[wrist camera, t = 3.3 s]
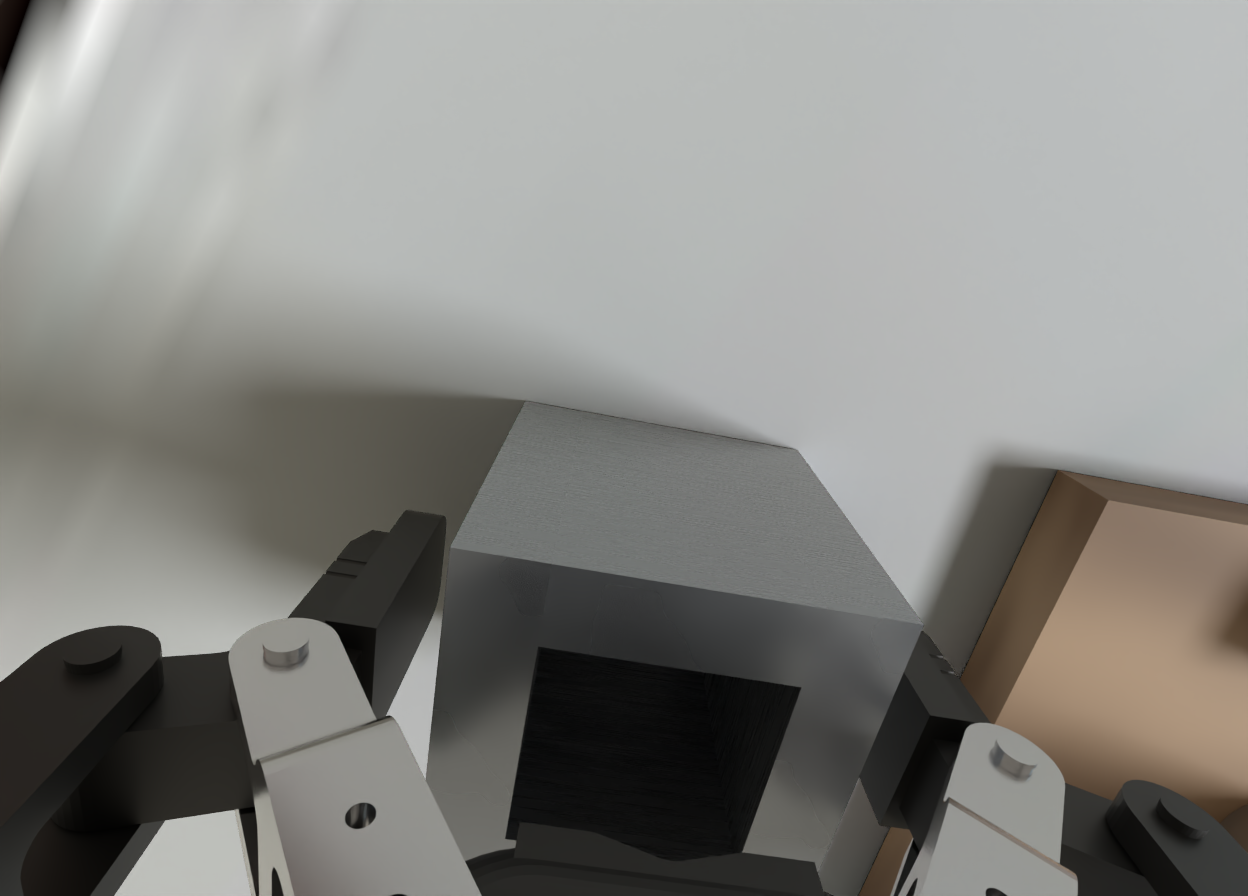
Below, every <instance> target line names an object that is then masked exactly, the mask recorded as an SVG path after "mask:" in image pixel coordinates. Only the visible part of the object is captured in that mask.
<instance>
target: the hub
mask: <svg viewBox="0 0 1248 896" xmlns="http://www.w3.org/2000/svg"><path fill="white" fill-rule="evenodd" d="M923 626H924V624H923V623H922V621H921V620H920V619H919V617H918V616H917V615H916V613H915V612H914V610H913V609H912V608H911V606H910V605H909V603H908V602H907V601H906V599H905V598H904V597H903V595H902V594H901V592H900V591H899V590H898V588H897V587H896V585H895V584H894V583H893V581H892V580H891V579H890V577H889V576H888V574H887V573H886V572H885V570H884V569H883V567H882V566H881V565H880V563H879V562H878V561H877V559H876V558H875V556H874V555H873V554H872V552H871V551H870V549H869V548H868V547H867V545H866V544H865V543H864V541H863V540H862V538H861V537H860V536H859V534H858V533H857V531H856V530H855V529H854V527H853V526H852V525H851V523H850V522H849V520H848V519H847V518H846V516H845V515H844V513H843V512H842V511H841V509H840V508H839V507H838V505H837V504H836V502H835V501H834V500H833V498H832V497H831V495H830V494H829V493H828V491H827V490H826V489H825V487H824V486H823V484H822V483H821V482H820V480H819V479H818V477H817V476H816V475H815V473H814V472H813V471H812V469H811V468H810V466H809V465H808V464H807V462H806V461H805V459H804V458H803V457H802V455H801V454H800V453H799V451H798V450H794V449H789V448H783V447H778V446H772V445H767V444H761V443H756V442H750V441H744V440H739V439H733V438H728V437H722V436H717V435H711V434H706V433H700V432H695V431H689V430H683V429H678V428H672V427H667V426H661V425H656V424H650V423H645V422H639V421H634V420H628V419H622V418H617V417H611V416H606V415H600V414H595V413H589V412H584V411H578V410H573V409H567V408H561V407H556V406H550V405H545V404H539V403H534V402H528V401H525V403H524V405H523V407H522V409H521V411H520V413H519V415H518V416H517V418H516V420H515V422H514V424H513V426H512V428H511V430H510V432H509V434H508V436H507V438H506V440H505V442H504V444H503V446H502V447H501V449H500V451H499V453H498V455H497V457H496V459H495V461H494V463H493V465H492V467H491V469H490V471H489V473H488V475H487V476H486V478H485V480H484V482H483V484H482V486H481V488H480V490H479V492H478V494H477V496H476V498H475V500H474V502H473V504H472V506H471V507H470V509H469V511H468V513H467V515H466V517H465V519H464V521H463V523H462V525H461V527H460V529H459V531H458V533H457V535H456V537H455V538H454V540H453V542H452V544H451V546H450V552H449V561H448V571H447V580H446V590H445V600H444V609H443V619H442V628H441V638H440V648H439V657H438V667H437V676H436V686H435V696H434V705H433V715H432V724H431V734H430V743H429V753H428V763H427V772H426V782H427V784H428V786H429V788H430V790H431V792H432V794H433V796H434V799H435V801H436V803H437V805H438V807H439V809H440V811H441V813H442V815H443V817H444V819H445V821H446V823H447V825H448V827H449V829H450V831H451V834H452V836H453V838H454V840H455V842H456V844H457V846H458V848H459V850H460V852H461V854H462V856H463V858H464V860H465V861H467V860H469V859H472V858H474V857H477V856H479V855H482V854H486V853H490V852H494V851H498V850H504V849H511V848H515V846H516V840H517V834H518V829H519V823H520V822H524V823H531V824H539V825H546V826H553V827H561V828H568V829H575V830H583V831H590V832H595V833H598V834H600V835H603V836H605V837H608V838H610V839H613V840H616V841H618V842H621V843H623V844H626V845H628V846H631V847H633V848H636V849H639V850H641V851H644V852H646V853H649V854H651V855H654V856H656V857H659V858H661V859H664V860H668V861H684V860H691V859H699V858H706V857H713V856H721V855H728V854H736V853H743V852H744V853H752V854H759V855H766V856H774V857H781V858H788V859H796V860H803V861H811V862H815V865H816V869H817V872H818V871H819V869H820V867H821V864H822V862H823V860H824V857H825V855H826V853H827V850H828V848H829V846H830V843H831V841H832V839H833V836H834V834H835V832H836V829H837V827H838V825H839V822H840V820H841V818H842V815H843V813H844V811H845V808H846V806H847V804H848V801H849V799H850V797H851V794H852V792H853V790H854V787H855V785H856V783H857V780H858V778H859V776H860V773H861V771H862V769H863V766H864V764H865V762H866V759H867V757H868V755H869V752H870V750H871V748H872V745H873V743H874V741H875V738H876V736H877V734H878V731H879V729H880V727H881V724H882V722H883V719H884V717H885V715H886V712H887V710H888V708H889V705H890V703H891V701H892V698H893V696H894V694H895V691H896V689H897V687H898V684H899V682H900V680H901V677H902V675H903V673H904V670H905V668H906V666H907V663H908V661H909V659H910V656H911V654H912V652H913V649H914V647H915V645H916V642H917V640H918V638H919V635H920V633H921V631H922V628H923Z"/></svg>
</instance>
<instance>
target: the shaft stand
mask: <svg viewBox="0 0 1248 896" xmlns="http://www.w3.org/2000/svg"><path fill="white" fill-rule="evenodd" d="M960 680H961V682H962V683H963V685H964V686H965V687H966V689H967V690H968V692H969V693H970V694H971V696H972V697H973V699H974V700H975V701H976V703H977V704H978V706H979V707H980V708H981V710H982V711H983V713H984V714H985V715H986V717H987V718H988V720H989V721H990V722H991V724H995V725H998V726H1001V727H1004V728H1007V729H1009V730H1011V731H1013V732H1015V733H1017V734H1019V735H1021V736H1023V737H1024V738H1026V739H1028V740H1029V741H1031V742H1032V743H1034V744H1035V745H1036V746H1037V747H1039V748H1040V749H1041V750H1042V751H1044V752H1045V753H1046V754H1047V755H1048V756H1049V757H1050V758H1051V759H1052V760H1053V762H1054V763H1055V764H1056V765H1057V767H1058V768H1059V770H1060V771H1061V773H1062V775H1063V778H1064V781H1065V783H1067V784H1070V785H1072V786H1075V787H1078V788H1080V789H1083V790H1085V791H1088V792H1091V793H1093V794H1096V795H1099V796H1101V797H1104V798H1106V799H1109V800H1112V801H1113V800H1114V799H1115V797H1116V795H1117V794H1118V792H1119V791H1120V789H1121V788H1122V786H1123V784H1124V783H1126V782H1127V781H1130V780H1144V781H1148V782H1152V783H1155V784H1158V785H1161V786H1163V787H1166V788H1168V789H1170V790H1172V791H1174V792H1176V793H1178V794H1180V795H1182V796H1183V797H1185V798H1187V799H1188V800H1190V801H1192V802H1193V803H1194V804H1196V805H1197V806H1199V807H1200V808H1202V809H1203V810H1204V811H1206V812H1207V813H1208V814H1209V815H1211V816H1212V817H1213V818H1214V819H1215V820H1216V821H1218V822H1219V823H1220V824H1221V825H1222V826H1223V827H1224V828H1225V829H1226V830H1227V831H1228V833H1229V834H1230V835H1231V836H1232V837H1233V838H1234V839H1235V840H1236V841H1237V842H1238V843H1239V844H1240V846H1241V847H1242V848H1243V849H1244V850H1245V851H1246V852H1247V853H1248V505H1246V504H1241V503H1236V502H1230V501H1225V500H1219V499H1214V498H1208V497H1203V496H1197V495H1192V494H1186V493H1181V492H1176V491H1170V490H1165V489H1159V488H1154V487H1148V486H1143V485H1137V484H1132V483H1126V482H1121V481H1116V480H1110V479H1105V478H1099V477H1094V476H1088V475H1083V474H1077V473H1072V472H1066V471H1061V470H1058V471H1057V474H1056V476H1055V478H1054V480H1053V482H1052V484H1051V486H1050V489H1049V491H1048V493H1047V495H1046V497H1045V499H1044V501H1043V503H1042V506H1041V508H1040V510H1039V512H1038V514H1037V516H1036V518H1035V520H1034V523H1033V525H1032V527H1031V529H1030V531H1029V533H1028V535H1027V538H1026V540H1025V542H1024V544H1023V546H1022V548H1021V550H1020V552H1019V555H1018V557H1017V559H1016V561H1015V563H1014V565H1013V567H1012V570H1011V572H1010V574H1009V576H1008V578H1007V580H1006V582H1005V584H1004V587H1003V589H1002V591H1001V593H1000V595H999V597H998V599H997V602H996V604H995V606H994V608H993V610H992V612H991V614H990V616H989V619H988V621H987V623H986V625H985V627H984V629H983V631H982V633H981V636H980V638H979V640H978V642H977V644H976V646H975V648H974V651H973V653H972V655H971V657H970V659H969V661H968V663H967V665H966V668H965V670H964V672H963V674H962V676H961V678H960ZM912 838H913V837H912V834H911V832H910V830H908V829H901V828H894V827H891V828H890V830H889V832H888V834H887V836H886V838H885V840H884V842H883V845H882V847H881V849H880V851H879V853H878V855H877V857H876V859H875V862H874V864H873V866H872V868H871V870H870V872H869V874H868V877H867V879H866V881H865V883H864V885H863V887H862V889H861V891H860V894H859V896H890V895H891V892H892V889H893V886H894V884H895V881H896V878H897V875H898V872H899V869H900V867H901V864H902V861H903V858H904V855H905V853H906V851H907V849H908V847H909V845H910V843H911V841H912Z"/></svg>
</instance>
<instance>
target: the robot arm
mask: <svg viewBox="0 0 1248 896" xmlns="http://www.w3.org/2000/svg"><path fill="white" fill-rule="evenodd" d="M445 535H446V517H445V516H441V515H435V514H429V513H423V512H417V511H411V510H406V511H405V512H404V513H403V514H402V516H401V517H400V518H399V520H398V521H397V523H396V524H395V525H394V527H393V528H392V529H391V531H390V532H389V533H387V532H381V531H375V530H372V531H370V532H368V533H366V534H364V535H362V536H361V537H359V538H357V539H355V540H353V541H351V542H350V543H349V544H348V545H347V547H346V548H345V549H344V550H343V551H342V553H341V554H340V555H339V556H338V557H337V561H334V562H333V563H332V565H331V566H330V567H329V568H328V570H327V571H326V574H323V576H322V577H321V578H320V579H319V580H318V582H317V583H316V584H315V585H314V587H313V588H312V589H311V590H310V591H309V593H308V594H307V595H306V596H305V597H304V599H303V600H302V601H301V602H300V603H299V605H298V606H297V607H296V608H295V610H294V611H293V612H292V613H291V614H290V616H289V617H288V618H285V619H279V620H274V621H271V622H267V623H264V624H262V625H259V626H257V627H255V628H253V629H251V630H249V631H248V632H246V633H245V634H243V635H242V636H241V637H240V638H239V639H237V641H236V642H235V643H234V644H233V646H232V648H231V649H230V651H227V652H222V653H213V654H199V655H185V656H171V657H162V651H161V643H160V641H159V639H158V637H156V636H155V635H154V634H153V633H151V632H150V631H148V630H145V629H142V628H138V627H133V626H106V627H98V628H93V629H88V630H84V631H81V632H77V633H74V634H71V635H69V636H66V637H63V638H61V639H59V640H57V641H55V642H53V643H51V644H49V645H48V646H46V647H44V648H43V649H41V650H40V651H38V652H37V653H36V654H34V655H33V656H32V657H31V658H30V659H28V660H27V661H26V662H25V663H23V664H22V665H21V666H20V667H19V668H17V669H16V670H15V671H14V672H12V673H11V674H10V675H9V676H8V677H6V678H5V679H4V680H3V681H1V682H0V896H114V895H115V893H116V892H117V890H118V889H119V888H120V886H121V885H122V883H123V882H124V880H125V879H126V877H127V876H128V874H129V873H130V871H131V870H132V868H133V867H134V866H135V864H136V863H137V861H138V860H139V858H140V857H141V855H142V854H143V852H144V851H145V849H146V848H147V846H148V845H149V843H150V842H151V841H152V839H153V838H154V836H155V835H156V833H157V832H158V830H159V829H160V827H161V826H162V824H163V823H164V821H165V820H170V819H177V818H183V817H190V816H197V815H203V814H210V813H216V812H223V811H229V810H235V815H236V820H237V825H238V830H239V835H240V841H241V846H242V851H243V856H244V861H245V866H246V871H247V877H248V882H249V887H250V892H251V896H833V895H831V894H829V893H826V892H824V891H823V889H822V886H821V882H820V879H819V875H818V872H817V869H816V865H815V862H811V861H803V860H796V859H788V858H781V857H774V856H766V855H759V854H752V853H744V852H743V853H736V854H728V855H721V856H713V857H706V858H699V859H691V860H684V861H668V860H664V859H661V858H659V857H656V856H654V855H651V854H649V853H646V852H644V851H641V850H639V849H636V848H633V847H631V846H628V845H626V844H623V843H621V842H618V841H616V840H613V839H610V838H608V837H605V836H603V835H600V834H598V833H595V832H590V831H583V830H575V829H568V828H561V827H553V826H546V825H539V824H531V823H524V822H520V823H519V829H518V834H517V840H516V846H515V848H511V849H504V850H498V851H494V852H490V853H486V854H482V855H479V856H477V857H474V858H472V859H469V860H467V861H465V860H464V858H463V856H462V854H461V852H460V850H459V848H458V846H457V844H456V842H455V840H454V838H453V836H452V834H451V831H450V829H449V827H448V825H447V823H446V821H445V819H444V817H443V815H442V813H441V811H440V809H439V807H438V805H437V803H436V801H435V799H434V796H433V794H432V792H431V790H430V788H429V786H428V784H427V782H426V780H425V778H424V776H423V774H422V772H421V770H420V768H419V766H418V764H417V761H416V759H415V757H414V755H413V753H412V751H411V749H410V747H409V745H408V743H407V741H406V739H405V737H404V735H403V733H402V731H401V728H400V727H399V725H398V723H397V722H396V720H395V719H394V718H393V717H392V716H386V714H387V712H388V710H389V708H390V706H391V704H392V701H393V699H394V697H395V695H396V693H397V691H398V689H399V687H400V685H401V682H402V680H403V678H404V676H405V674H406V672H407V670H408V668H409V665H410V663H411V661H412V659H413V657H414V655H415V653H416V651H417V648H418V646H419V644H420V642H421V640H422V638H423V636H424V634H425V631H426V629H427V627H428V625H429V623H430V621H431V619H432V616H433V614H434V611H435V608H436V604H437V600H438V596H439V591H440V584H441V575H442V565H443V555H444V545H445ZM859 777H860V779H861V782H862V784H863V787H864V789H865V792H866V794H867V796H868V799H869V801H870V804H871V806H872V808H873V811H874V813H875V816H876V818H877V820H878V823H879V825H880V826H887V827H894V828H901V829H908V830H910V832H911V834H912V837H913V838H912V841H911V843H910V845H909V847H908V849H907V851H906V853H905V855H904V858H903V861H902V864H901V867H900V869H899V872H898V875H897V878H896V881H895V884H894V886H893V889H892V892H891V895H890V896H1248V853H1247V852H1246V851H1245V850H1244V849H1243V848H1242V847H1241V846H1240V844H1239V843H1238V842H1237V841H1236V840H1235V839H1234V838H1233V837H1232V836H1231V835H1230V834H1229V833H1228V831H1227V830H1226V829H1225V828H1224V827H1223V826H1222V825H1221V824H1220V823H1219V822H1218V821H1216V820H1215V819H1214V818H1213V817H1212V816H1211V815H1209V814H1208V813H1207V812H1206V811H1204V810H1203V809H1202V808H1200V807H1199V806H1197V805H1196V804H1194V803H1193V802H1192V801H1190V800H1188V799H1187V798H1185V797H1183V796H1182V795H1180V794H1178V793H1176V792H1174V791H1172V790H1170V789H1168V788H1166V787H1163V786H1161V785H1158V784H1155V783H1152V782H1148V781H1144V780H1130V781H1127V782H1126V783H1124V784H1123V786H1122V788H1121V789H1120V791H1119V792H1118V794H1117V795H1116V797H1115V799H1114V800H1113V801H1112V800H1109V799H1106V798H1104V797H1101V796H1099V795H1096V794H1093V793H1091V792H1088V791H1085V790H1083V789H1080V788H1078V787H1075V786H1072V785H1070V784H1067V783H1065V781H1064V778H1063V775H1062V773H1061V771H1060V770H1059V768H1058V767H1057V765H1056V764H1055V763H1054V762H1053V760H1052V759H1051V758H1050V757H1049V756H1048V755H1047V754H1046V753H1045V752H1044V751H1042V750H1041V749H1040V748H1039V747H1037V746H1036V745H1035V744H1034V743H1032V742H1031V741H1029V740H1028V739H1026V738H1024V737H1023V736H1021V735H1019V734H1017V733H1015V732H1013V731H1011V730H1009V729H1007V728H1004V727H1001V726H998V725H995V724H991V722H990V721H989V720H988V718H987V717H986V715H985V714H984V713H983V711H982V710H981V708H980V707H979V706H978V704H977V703H976V701H975V700H974V699H973V697H972V696H971V694H970V693H969V692H968V690H967V689H966V687H965V686H964V685H963V683H962V682H961V680H960V679H959V678H958V676H954V671H953V669H952V668H951V666H950V665H949V664H948V662H947V661H946V660H943V655H942V654H941V652H940V651H939V650H938V648H937V647H936V645H935V644H934V643H933V641H932V640H931V638H930V637H929V636H928V635H926V634H925V633H924V632H923V631H921V633H920V635H919V638H918V640H917V642H916V645H915V647H914V649H913V652H912V654H911V656H910V659H909V661H908V663H907V666H906V668H905V670H904V673H903V675H902V677H901V680H900V682H899V684H898V687H897V689H896V691H895V694H894V696H893V698H892V701H891V703H890V705H889V708H888V710H887V712H886V715H885V717H884V719H883V722H882V724H881V727H880V729H879V731H878V734H877V736H876V738H875V741H874V743H873V745H872V748H871V750H870V752H869V755H868V757H867V759H866V762H865V764H864V766H863V769H862V771H861V773H860V776H859Z"/></svg>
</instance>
